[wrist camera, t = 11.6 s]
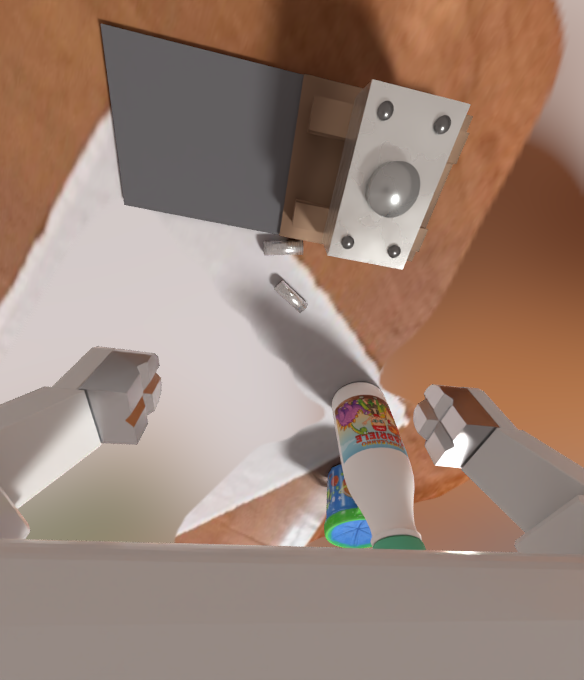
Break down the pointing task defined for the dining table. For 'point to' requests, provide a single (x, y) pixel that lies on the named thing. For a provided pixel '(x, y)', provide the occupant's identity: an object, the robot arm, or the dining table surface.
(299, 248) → the pin
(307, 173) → the stand
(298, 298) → the pin
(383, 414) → the milk bottle
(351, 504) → the snack cup
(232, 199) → the bench mat
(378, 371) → the dining table surface
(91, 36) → the dining table surface
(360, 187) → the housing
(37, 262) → the dining table surface
